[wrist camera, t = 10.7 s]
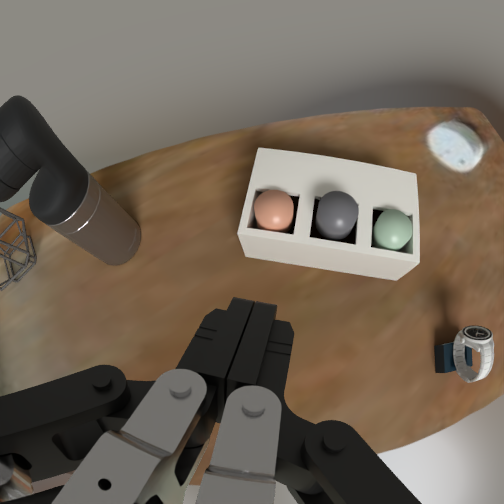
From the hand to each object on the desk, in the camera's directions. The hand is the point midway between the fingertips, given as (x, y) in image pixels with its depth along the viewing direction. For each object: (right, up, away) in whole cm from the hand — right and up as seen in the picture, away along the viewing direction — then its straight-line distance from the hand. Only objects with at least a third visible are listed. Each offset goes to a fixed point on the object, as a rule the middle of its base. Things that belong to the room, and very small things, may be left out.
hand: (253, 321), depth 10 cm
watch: (+31, -14, +28) cm, 44 cm away
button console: (+12, +6, +37) cm, 39 cm away
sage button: (+19, +4, +29) cm, 35 cm away
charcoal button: (+11, +6, +28) cm, 31 cm away
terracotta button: (+3, +7, +32) cm, 32 cm away
